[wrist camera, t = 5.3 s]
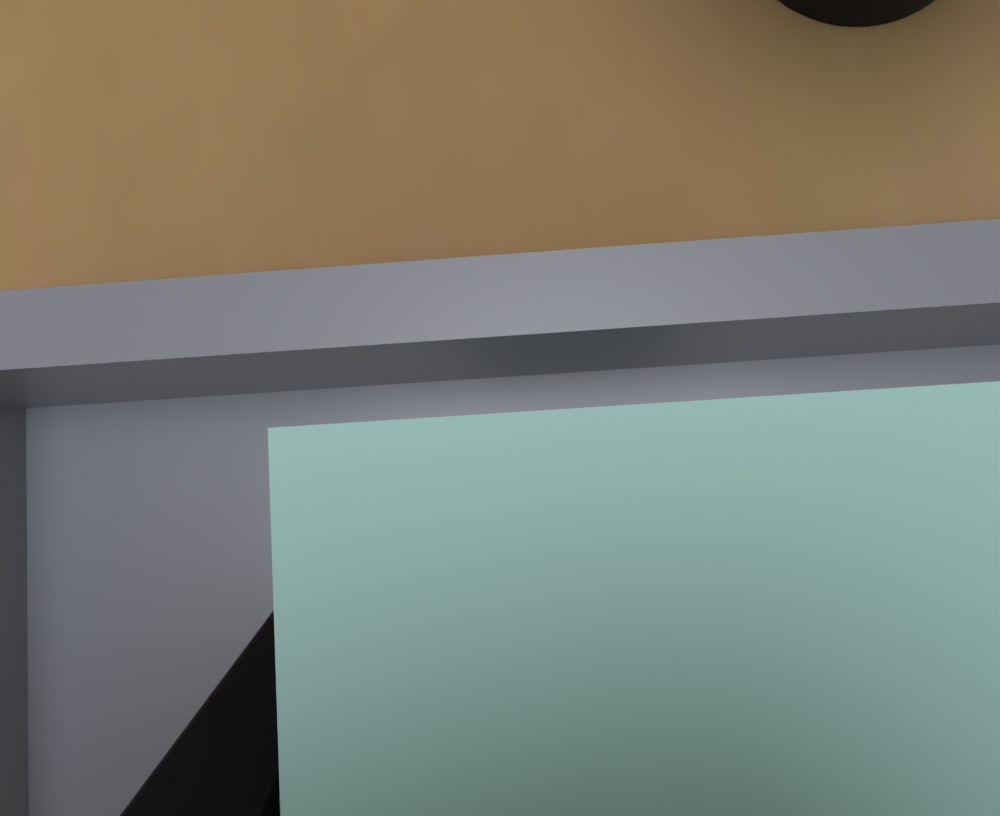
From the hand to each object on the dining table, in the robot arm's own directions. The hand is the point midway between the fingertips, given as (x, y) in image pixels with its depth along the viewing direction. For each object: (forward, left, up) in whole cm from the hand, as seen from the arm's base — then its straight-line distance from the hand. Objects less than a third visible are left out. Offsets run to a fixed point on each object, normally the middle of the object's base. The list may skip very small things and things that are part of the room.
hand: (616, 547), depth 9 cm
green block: (-1, -1, -6) cm, 7 cm away
